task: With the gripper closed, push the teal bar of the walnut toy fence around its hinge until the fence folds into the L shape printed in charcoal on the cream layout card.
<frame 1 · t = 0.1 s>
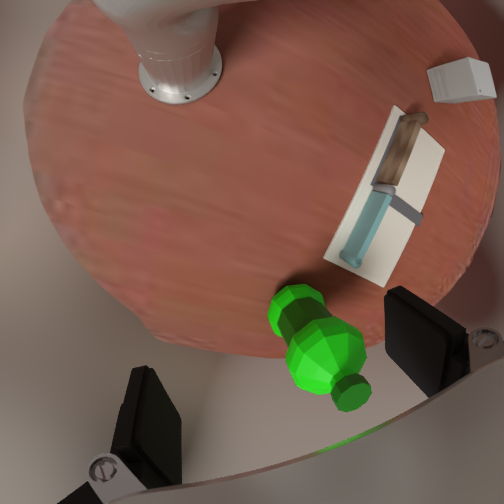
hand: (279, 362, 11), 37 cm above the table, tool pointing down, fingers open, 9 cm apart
plastic bottle: (290, 302, 52), on the table
layout card: (373, 187, 49), on the table
supplement box: (440, 86, 46), on the table
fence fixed: (402, 147, 44), on the layout card
teal bar: (367, 224, 47), point 3 cm above the table, hinge at 0.0°
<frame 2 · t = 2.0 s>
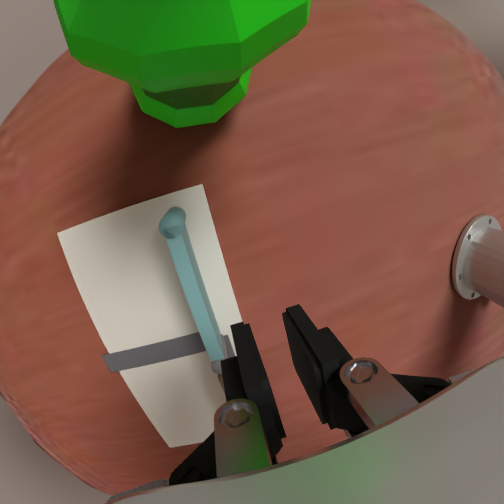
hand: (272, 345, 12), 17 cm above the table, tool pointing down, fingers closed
plastic bottle: (191, 83, 24), on the table
layout card: (216, 335, 30), on the table
teal bar: (196, 292, 25), point 3 cm above the table, hinge at 0.0°
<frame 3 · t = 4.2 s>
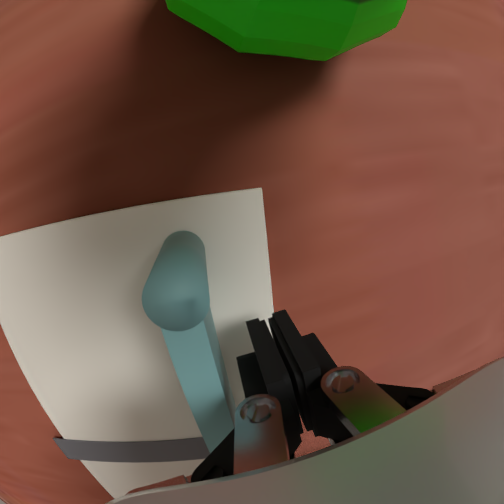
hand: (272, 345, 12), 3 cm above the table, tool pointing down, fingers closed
layout card: (236, 438, 17), on the table
teal bar: (218, 407, 12), point 3 cm above the table, hinge at 2.6°, touching gripper
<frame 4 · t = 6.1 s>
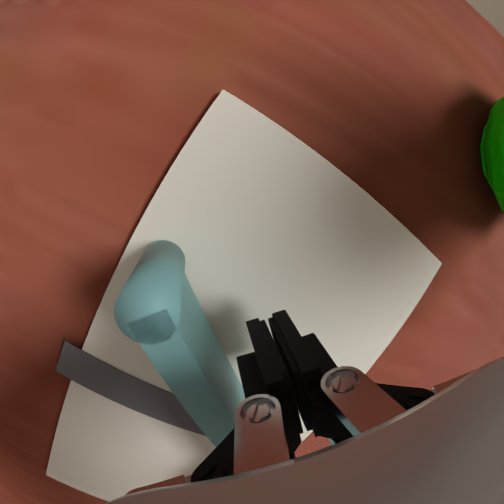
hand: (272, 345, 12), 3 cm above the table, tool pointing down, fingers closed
plastic bottle: (497, 155, 15), on the table
layout card: (261, 432, 17), on the table
teal bar: (228, 407, 12), point 3 cm above the table, hinge at 53.2°, touching gripper
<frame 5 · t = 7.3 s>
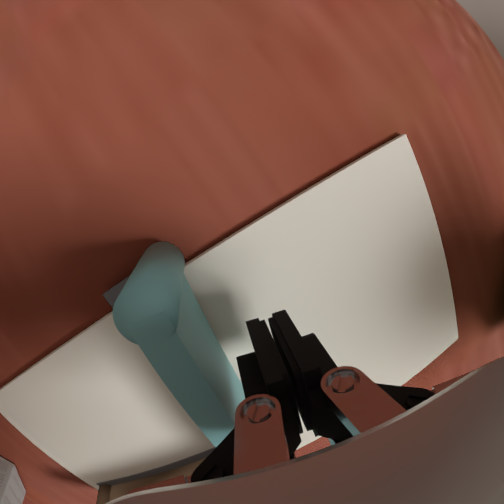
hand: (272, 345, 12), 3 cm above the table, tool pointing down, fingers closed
layout card: (263, 433, 17), on the table
teal bar: (229, 408, 12), point 3 cm above the table, hinge at 80.4°, touching gripper
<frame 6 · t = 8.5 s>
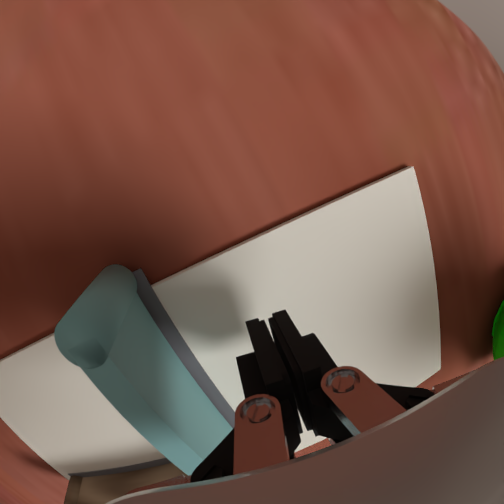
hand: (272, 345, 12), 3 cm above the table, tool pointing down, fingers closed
layout card: (239, 442, 17), on the table
teal bar: (188, 422, 12), point 3 cm above the table, hinge at 90.0°
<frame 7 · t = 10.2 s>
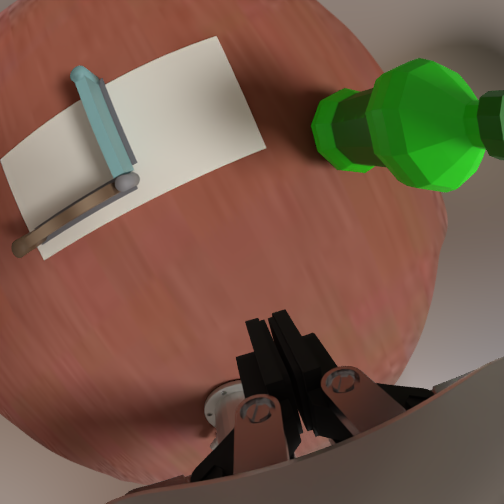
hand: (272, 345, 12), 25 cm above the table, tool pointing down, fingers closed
plastic bottle: (338, 132, 34), on the table
layout card: (134, 179, 32), on the table
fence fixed: (66, 217, 28), on the layout card
teal bar: (104, 127, 26), point 3 cm above the table, hinge at 90.0°
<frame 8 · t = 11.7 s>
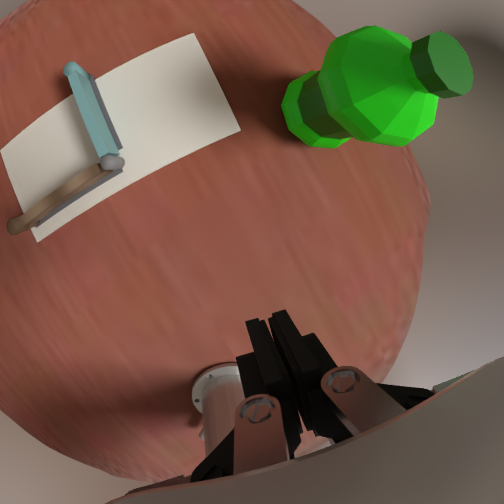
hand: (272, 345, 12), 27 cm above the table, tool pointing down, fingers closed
plastic bottle: (310, 114, 36), on the table
layout card: (120, 163, 33), on the table
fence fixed: (57, 198, 30), on the layout card
teal bar: (93, 115, 28), point 3 cm above the table, hinge at 90.0°
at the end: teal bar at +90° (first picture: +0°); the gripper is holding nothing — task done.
